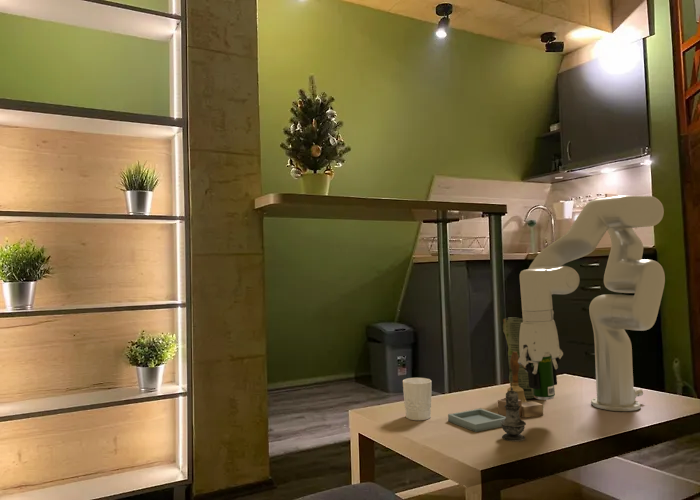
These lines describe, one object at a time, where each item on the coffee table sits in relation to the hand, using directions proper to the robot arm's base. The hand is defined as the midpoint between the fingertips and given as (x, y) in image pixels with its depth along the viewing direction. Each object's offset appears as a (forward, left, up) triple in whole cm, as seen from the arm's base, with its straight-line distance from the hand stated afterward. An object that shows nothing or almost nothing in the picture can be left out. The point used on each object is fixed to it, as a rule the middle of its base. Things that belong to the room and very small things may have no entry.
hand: (543, 385), depth 140 cm
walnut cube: (+3, -9, -10) cm, 14 cm away
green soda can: (0, 0, -3) cm, 3 cm away
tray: (+14, -9, -10) cm, 19 cm away
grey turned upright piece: (+15, +5, -10) cm, 19 cm away
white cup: (+24, -22, -10) cm, 34 cm away
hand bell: (-5, -15, -10) cm, 19 cm away
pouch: (-18, -23, -10) cm, 31 cm away
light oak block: (-3, -8, -10) cm, 13 cm away
